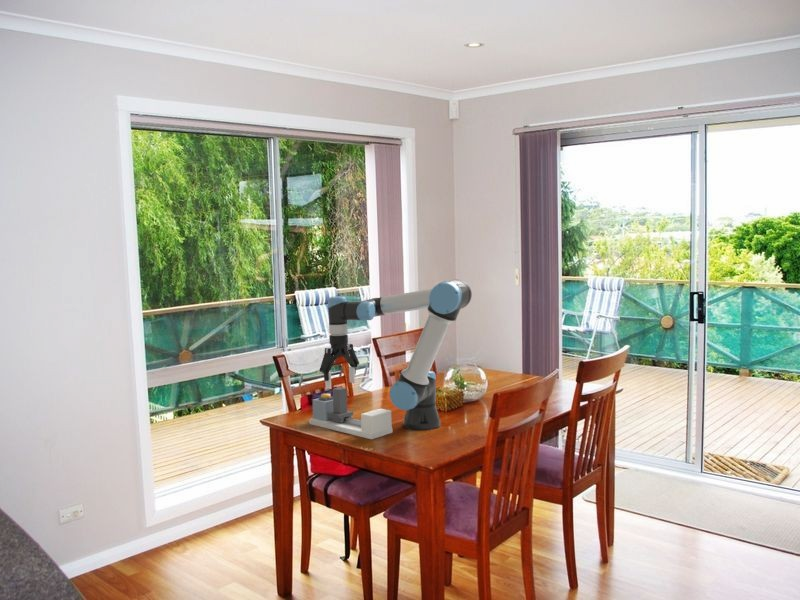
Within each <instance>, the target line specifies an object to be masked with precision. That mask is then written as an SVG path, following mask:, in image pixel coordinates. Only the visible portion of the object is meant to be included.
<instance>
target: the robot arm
mask: <svg viewBox="0 0 800 600" xmlns="http://www.w3.org/2000/svg"><path fill="white" fill-rule="evenodd" d="M472 296H473V294H472V289H471V287H470V285H469V284H468V283H467V282H466V281H464V280H461V279H452V280H446V281H445V280H444V281H442V282H439V283H438V284H436V285H434V286H433V288H428V289H427V288H426V289H421V290H416V291H411V292H404V293H399V294H394V295H393V294H392V295H387V296H386V295H385V296H382V297H373V298H369V299H366V300H365V299H364V300H361V301H359V300H358V301H349V300H347V297H346V296H340V295H339V296H338V295H337V296H330V297H329V298H328V299H327V312H328V313H327V314H328V330H329V333H328V334H329V336H328V337H329V339H328V341H329V344H330V347H329V348H328V347H324V354H323V358H322V361H321V364H320V368H319V372H321V373H323V380H324V384H325V389H329V390H331V389H332V374H331V372H330V371H331V369H332V367H333V366H334V364H335V361H336V360H338V358H344V360H345V361H346V362H347V363H348V366H349V367H348V376H349V377H348V381H349V383H351V384H355V383H356V374H357V372H356V371H357V369H356V368H358V367H359V365H360V362H359V359H358V357H357V353H355V349H354V345H353V343H349V336H348V332H349V331H348V330H349V329H348V321H363V322H364V321H365V322H366V321H372V320H373V319H374V318H375V317H382V316H386V315H392V314H394V315H395V314H400V313H407V312H412V311H413V312H414V311H418V310H425V309H427V311H428V312H427V313H428V314H429V315H428V316H427V320H426V321H425V324H424V325H423V329H422V332H421V334H420V336H419V338H418V341H417V344H416V346H415V348H414V350H413V353H412V356H411V357H410V360H409V362H408V365H407V368H404V369H402V370H401V372H400V374H399V377H398V379H397V381H396V382H394V383H393V384H392V385H391V388H390V389H389V398H390V401H391V403H392V404H393V406H395V407H396V408H397V409H399V410H402V411H406V412H405V415H404V418H403V427H404V428H406V429H410V430H416V431H428V430H434V429H438V428H439V427H441V419H440V415H439V413H438V409H437V405H436V403H437V400H436V399H437V398H436V397H437V394H436V393H437V391H436V390H437V387H436V386H437V382H436V381H437V378H436V373H435V371H433V370H431V369H432V366H433V364H434V362H435V360H436V357H437V355H438V353H439V350H440V348H441V345H442V343H443V340H444V338H445V336H446V334H447V331H448V328H449V327H450V324H451V323H454V322H456V320H457V318H458V316H459V313H460V310H461V309H464V308H466V307H467V306H468V305H469V304H470V302H471V300H472Z"/></svg>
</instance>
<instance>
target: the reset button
mask: <svg viewBox="0 0 800 600" xmlns="http://www.w3.org/2000/svg"><path fill="white" fill-rule="evenodd" d="M318 398H319V400H322V401H329V400H333V396H332V395H331V393H321V395H320V397H318Z"/></svg>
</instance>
